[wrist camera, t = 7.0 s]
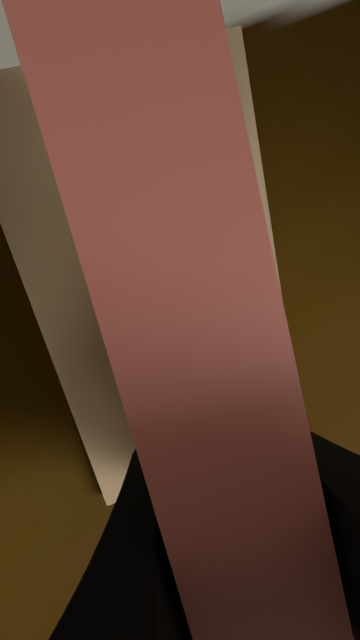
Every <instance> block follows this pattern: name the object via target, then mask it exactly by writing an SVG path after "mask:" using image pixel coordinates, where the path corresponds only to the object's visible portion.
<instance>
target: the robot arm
mask: <svg viewBox="0 0 360 640" xmlns="http://www.w3.org/2000/svg"><path fill="white" fill-rule="evenodd" d="M310 434H311V438H312V443H313V448H314V453H315V457H316V462H317V467H318V472H319V476H320V481H321V486H322V491H323V495H324V500H325V505H326V510H327V514H328V519H329V524H330V529H331V534H332V538H333V543H334V548H335V553H336V557H337V562H338V567H339V572H340V576H341V581H342V586H343V591H344V595H345V600H346V605H347V610H348V614H349V619H350V624H351V629H352V633H353V638H354V640H360V455H358V454H355V453H353V452H351V451H349V450H347V449H345V448H343V447H341V446H338V445H336V444H334V443H332V442H330V441H328V440H326V439H324V438H322V437H320V436H319V435H317V434H315V433H313V432H311V431H310ZM48 640H193V638H192V635H191V632H190V628H189V625H188V622H187V618H186V615H185V612H184V608H183V605H182V602H181V598H180V595H179V591H178V588H177V585H176V581H175V578H174V575H173V571H172V568H171V565H170V561H169V558H168V555H167V551H166V548H165V545H164V541H163V538H162V535H161V531H160V528H159V525H158V521H157V518H156V515H155V511H154V508H153V505H152V501H151V498H150V494H149V491H148V488H147V484H146V481H145V478H144V474H143V471H142V468H141V464H140V461H139V458H138V454H137V451H136V449H135V450H134V452H133V453H132V456H131V460H130V463H129V466H128V469H127V472H126V475H125V478H124V481H123V484H122V487H121V490H120V492H119V495H118V497H117V500H116V503H115V505H114V508H113V510H112V513H111V515H110V518H109V520H108V523H107V525H106V527H105V529H104V532H103V534H102V536H101V538H100V540H99V543H98V545H97V547H96V549H95V552H94V554H93V556H92V558H91V560H90V562H89V565H88V567H87V569H86V571H85V573H84V575H83V577H82V579H81V581H80V583H79V585H78V587H77V588H76V590H75V592H74V594H73V596H72V598H71V600H70V602H69V604H68V605H67V607H66V609H65V611H64V613H63V615H62V617H61V618H60V620H59V622H58V624H57V626H56V627H55V629H54V631H53V633H52V634H51V636H50V638H49V639H48Z"/></svg>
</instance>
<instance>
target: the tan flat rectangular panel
mask: <svg viewBox="0 0 360 640" xmlns="http://www.w3.org/2000/svg"><path fill="white" fill-rule="evenodd" d="M225 29H226V34H227V38H228V43H229V48H230V53H231V57H232V62H233V67H234V72H235V76H236V81H237V86H238V91H239V95H240V100H241V105H242V110H243V115H244V119H245V124H246V129H247V134H248V138H249V143H250V148H251V153H252V157H253V162H254V167H255V172H256V176H257V181H258V186H259V191H260V195H261V200H262V205H263V210H264V215H265V219H266V224H267V229H268V234H269V238H270V243H271V248H272V253H273V257H274V262H275V267H276V272H277V276H278V281H279V274H278V267H277V261H276V254H275V248H274V241H273V234H272V228H271V221H270V214H269V208H268V201H267V194H266V188H265V181H264V174H263V168H262V161H261V154H260V148H259V141H258V134H257V128H256V121H255V114H254V108H253V101H252V95H251V88H250V81H249V75H248V68H247V61H246V55H245V48H244V41H243V35H242V28H241V25H240V26H234V27H229V28H225ZM0 224H1V226H2V229H3V232H4V234H5V237H6V240H7V242H8V245H9V248H10V250H11V253H12V256H13V258H14V261H15V263H16V266H17V269H18V271H19V274H20V277H21V279H22V282H23V285H24V287H25V290H26V293H27V295H28V298H29V301H30V303H31V306H32V309H33V311H34V314H35V316H36V319H37V322H38V324H39V327H40V330H41V332H42V335H43V338H44V340H45V343H46V346H47V348H48V351H49V354H50V356H51V359H52V362H53V364H54V367H55V369H56V372H57V375H58V377H59V380H60V383H61V385H62V388H63V391H64V393H65V396H66V399H67V401H68V404H69V407H70V409H71V412H72V415H73V417H74V420H75V422H76V425H77V428H78V430H79V433H80V436H81V438H82V441H83V444H84V446H85V449H86V452H87V454H88V457H89V460H90V462H91V465H92V467H93V470H94V473H95V475H96V478H97V481H98V483H99V486H100V489H101V491H102V494H103V497H104V499H105V502H106V505H107V506H108V505H111V504H114V503H116V500H117V497H118V495H119V492H120V490H121V487H122V484H123V481H124V478H125V475H126V472H127V469H128V466H129V463H130V460H131V456H132V453H133V452H134V450H135V449H136V448H135V444H134V441H133V438H132V434H131V431H130V428H129V424H128V421H127V418H126V414H125V411H124V408H123V404H122V401H121V398H120V394H119V391H118V387H117V384H116V381H115V377H114V374H113V371H112V367H111V364H110V361H109V357H108V354H107V351H106V347H105V344H104V341H103V337H102V334H101V331H100V327H99V324H98V321H97V317H96V314H95V311H94V307H93V304H92V301H91V297H90V294H89V290H88V287H87V284H86V280H85V277H84V274H83V270H82V267H81V264H80V260H79V257H78V254H77V250H76V247H75V244H74V240H73V237H72V234H71V230H70V227H69V224H68V220H67V217H66V214H65V210H64V207H63V204H62V200H61V197H60V193H59V190H58V187H57V183H56V180H55V177H54V173H53V170H52V167H51V163H50V160H49V157H48V153H47V150H46V147H45V143H44V140H43V137H42V133H41V130H40V127H39V123H38V120H37V117H36V113H35V110H34V107H33V103H32V100H31V97H30V93H29V90H28V86H27V83H26V80H25V76H24V73H23V70H22V66H19V67H13V68H7V69H2V70H0ZM279 286H280V281H279ZM280 291H281V287H280ZM281 295H282V294H281Z"/></svg>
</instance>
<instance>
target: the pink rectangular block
mask: <svg viewBox="0 0 360 640" xmlns="http://www.w3.org/2000/svg"><path fill="white" fill-rule="evenodd" d="M2 3H3V6H4V10H5V13H6V16H7V19H8V23H9V26H10V29H11V33H12V36H13V40H14V43H15V46H16V50H17V53H18V56H19V60H20V63H21V66H22V70H23V73H24V76H25V80H26V83H27V86H28V90H29V93H30V97H31V100H32V103H33V107H34V110H35V113H36V117H37V120H38V123H39V127H40V130H41V133H42V137H43V140H44V143H45V147H46V150H47V153H48V157H49V160H50V163H51V167H52V170H53V173H54V177H55V180H56V183H57V187H58V190H59V193H60V197H61V200H62V204H63V207H64V210H65V214H66V217H67V220H68V224H69V227H70V230H71V234H72V237H73V240H74V244H75V247H76V250H77V254H78V257H79V260H80V264H81V267H82V270H83V274H84V277H85V280H86V284H87V287H88V290H89V294H90V297H91V301H92V304H93V307H94V311H95V314H96V317H97V321H98V324H99V327H100V331H101V334H102V337H103V341H104V344H105V347H106V351H107V354H108V357H109V361H110V364H111V367H112V371H113V374H114V377H115V381H116V384H117V387H118V391H119V394H120V398H121V401H122V404H123V408H124V411H125V414H126V418H127V421H128V424H129V428H130V431H131V434H132V438H133V441H134V444H135V448H136V451H137V454H138V458H139V461H140V464H141V468H142V471H143V474H144V478H145V481H146V484H147V488H148V491H149V494H150V498H151V501H152V505H153V508H154V511H155V515H156V518H157V521H158V525H159V528H160V531H161V535H162V538H163V541H164V545H165V548H166V551H167V555H168V558H169V561H170V565H171V568H172V571H173V575H174V578H175V581H176V585H177V588H178V591H179V595H180V598H181V602H182V605H183V608H184V612H185V615H186V618H187V622H188V625H189V628H190V632H191V635H192V638H193V640H354V638H353V633H352V629H351V624H350V619H349V614H348V610H347V605H346V600H345V595H344V591H343V586H342V581H341V576H340V572H339V567H338V562H337V557H336V553H335V548H334V543H333V538H332V534H331V529H330V524H329V519H328V514H327V510H326V505H325V500H324V495H323V491H322V486H321V481H320V476H319V472H318V467H317V462H316V457H315V453H314V448H313V443H312V438H311V434H310V429H309V424H308V419H307V414H306V410H305V405H304V400H303V395H302V391H301V386H300V381H299V376H298V372H297V367H296V362H295V357H294V353H293V348H292V343H291V338H290V334H289V329H288V324H287V319H286V315H285V310H284V305H283V300H282V295H281V291H280V286H279V281H278V276H277V272H276V267H275V262H274V257H273V253H272V248H271V243H270V238H269V234H268V229H267V224H266V219H265V215H264V210H263V205H262V200H261V195H260V191H259V186H258V181H257V176H256V172H255V167H254V162H253V157H252V153H251V148H250V143H249V138H248V134H247V129H246V124H245V119H244V115H243V110H242V105H241V100H240V95H239V91H238V86H237V81H236V76H235V72H234V67H233V62H232V57H231V53H230V48H229V43H228V38H227V34H226V29H225V24H224V19H223V15H222V10H221V5H220V0H2Z"/></svg>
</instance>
